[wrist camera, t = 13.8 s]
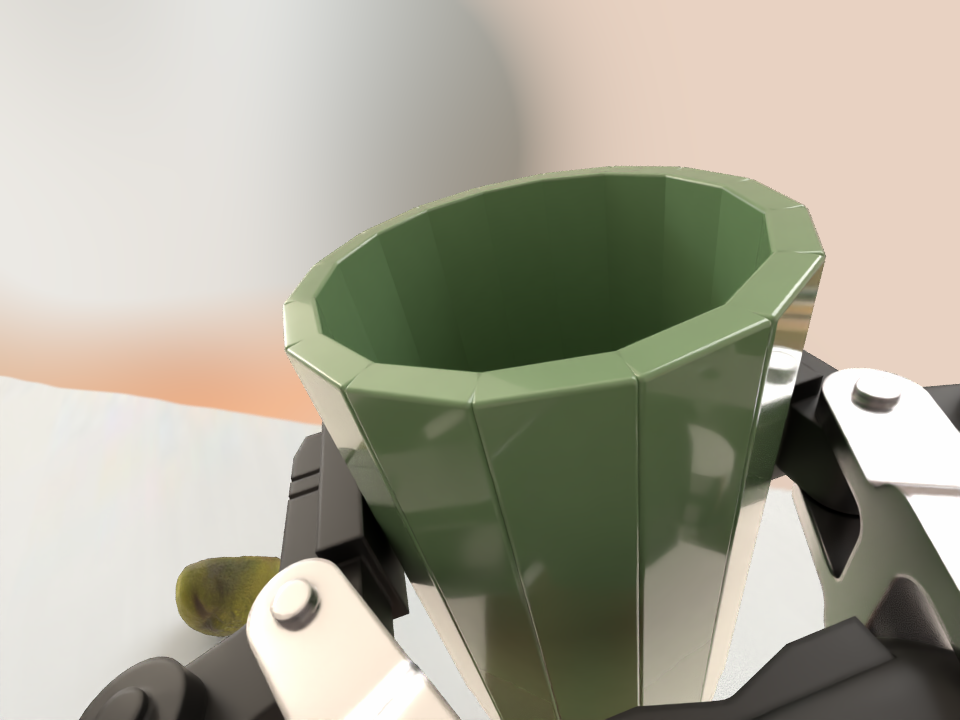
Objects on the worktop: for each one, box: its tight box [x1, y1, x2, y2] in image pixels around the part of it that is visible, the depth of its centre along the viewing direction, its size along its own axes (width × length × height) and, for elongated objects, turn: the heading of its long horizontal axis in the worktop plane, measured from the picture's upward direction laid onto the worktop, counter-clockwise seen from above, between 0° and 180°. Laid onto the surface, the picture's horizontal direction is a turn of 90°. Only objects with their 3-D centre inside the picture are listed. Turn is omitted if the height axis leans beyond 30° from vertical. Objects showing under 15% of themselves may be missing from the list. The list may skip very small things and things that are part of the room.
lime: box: [176, 556, 281, 637], centre depth 23 cm, size 4×5×5 cm
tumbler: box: [283, 166, 826, 720], centre depth 9 cm, size 6×6×10 cm
